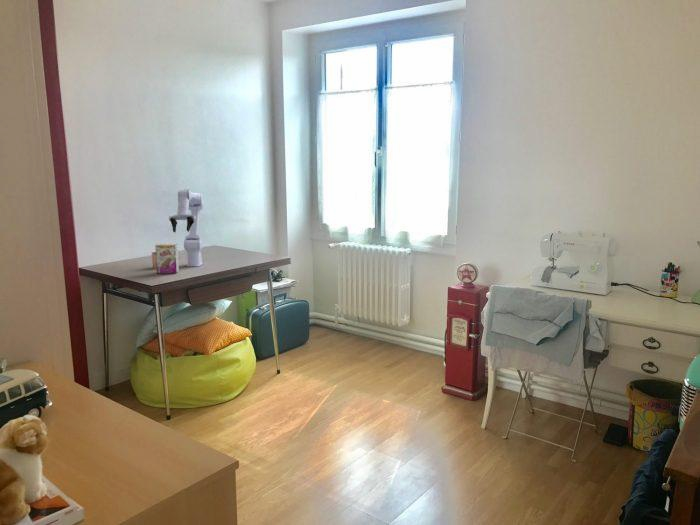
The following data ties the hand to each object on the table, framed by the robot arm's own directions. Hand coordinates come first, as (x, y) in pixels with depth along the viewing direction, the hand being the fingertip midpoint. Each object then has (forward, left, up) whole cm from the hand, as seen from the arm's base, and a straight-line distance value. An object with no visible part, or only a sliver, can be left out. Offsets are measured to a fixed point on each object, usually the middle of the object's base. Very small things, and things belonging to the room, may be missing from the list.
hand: (181, 231), depth 306 cm
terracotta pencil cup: (-20, -22, -25) cm, 38 cm away
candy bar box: (-6, -11, -25) cm, 28 cm away
